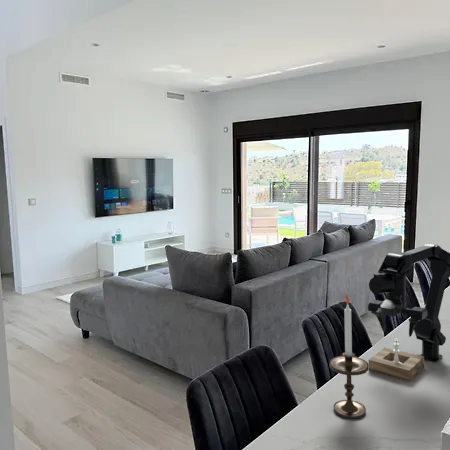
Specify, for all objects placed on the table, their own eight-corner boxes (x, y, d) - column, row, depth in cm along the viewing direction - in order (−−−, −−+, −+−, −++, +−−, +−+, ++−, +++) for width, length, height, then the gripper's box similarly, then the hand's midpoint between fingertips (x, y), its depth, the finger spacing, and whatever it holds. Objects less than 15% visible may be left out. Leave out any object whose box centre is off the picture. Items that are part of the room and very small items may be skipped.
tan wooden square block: (384, 357, 159) (384, 347, 158) (424, 367, 149) (424, 356, 149) (368, 370, 149) (368, 359, 148) (409, 382, 139) (409, 370, 139)
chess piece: (405, 369, 146) (405, 341, 145) (390, 368, 147) (389, 341, 146) (402, 363, 151) (402, 336, 150) (387, 362, 152) (387, 336, 151)
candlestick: (327, 401, 129) (324, 289, 126) (362, 400, 129) (361, 288, 125) (335, 421, 118) (332, 299, 115) (374, 420, 118) (372, 298, 114)
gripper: (360, 290, 146) (360, 334, 148) (416, 299, 134) (416, 346, 135) (374, 284, 154) (374, 325, 156) (428, 291, 142) (427, 336, 143)
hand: (396, 333), depth 147 cm, fingers open, 9 cm apart
